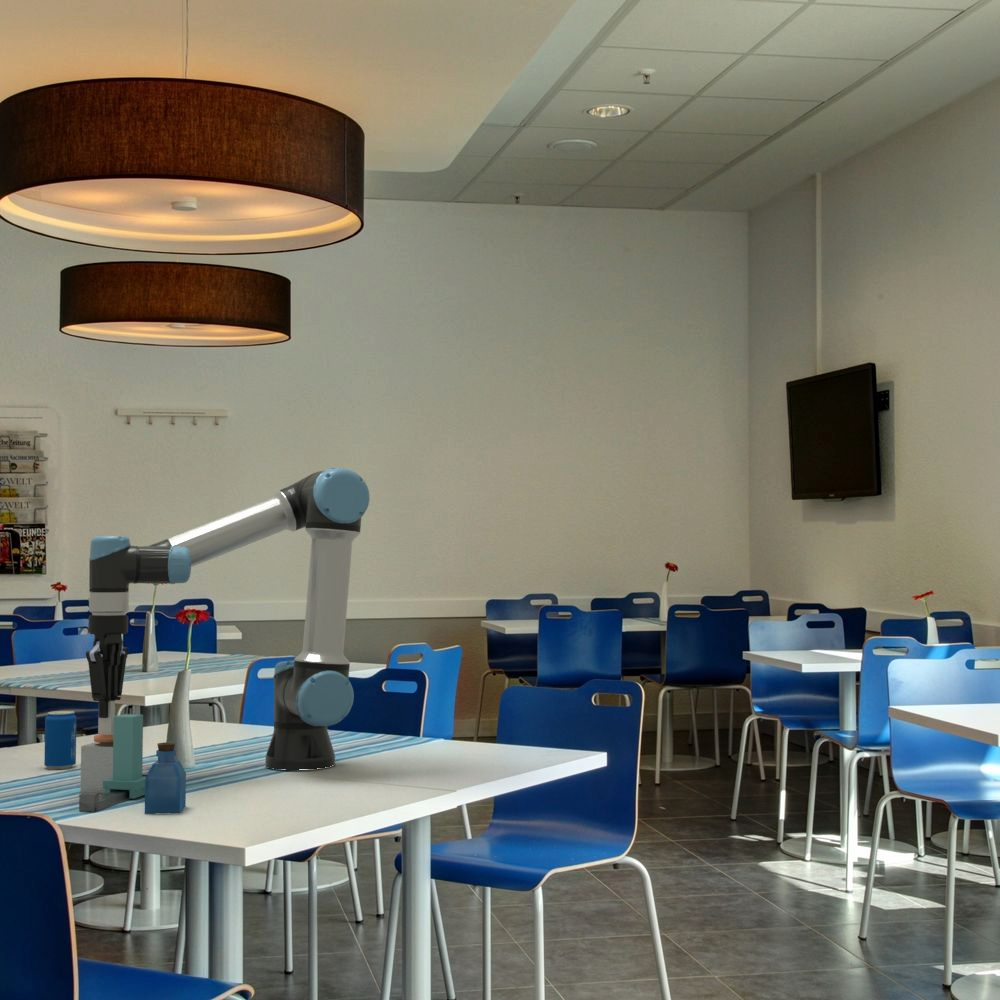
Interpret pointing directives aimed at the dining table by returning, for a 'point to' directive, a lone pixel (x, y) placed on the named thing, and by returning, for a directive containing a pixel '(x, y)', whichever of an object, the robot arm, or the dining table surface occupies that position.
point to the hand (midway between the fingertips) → (106, 734)
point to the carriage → (127, 756)
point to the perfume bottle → (165, 783)
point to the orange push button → (104, 740)
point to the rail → (102, 799)
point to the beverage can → (60, 740)
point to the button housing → (95, 767)
